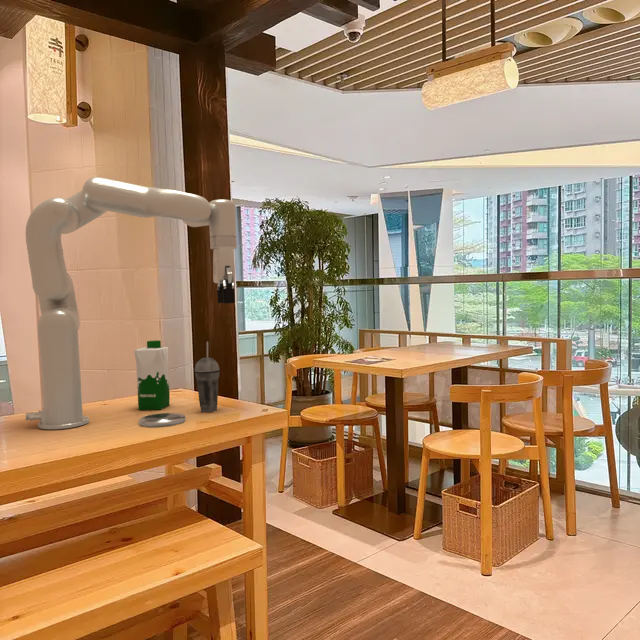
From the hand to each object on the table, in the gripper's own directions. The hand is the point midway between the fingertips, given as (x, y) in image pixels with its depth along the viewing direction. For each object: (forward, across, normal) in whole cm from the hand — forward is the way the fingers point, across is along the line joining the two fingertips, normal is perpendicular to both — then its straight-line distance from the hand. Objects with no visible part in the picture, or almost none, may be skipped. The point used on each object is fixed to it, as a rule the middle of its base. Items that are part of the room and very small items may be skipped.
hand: (226, 303), depth 172 cm
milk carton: (+31, -13, -21) cm, 40 cm away
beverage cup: (+31, 0, -6) cm, 32 cm away
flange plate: (+31, +9, -20) cm, 38 cm away
